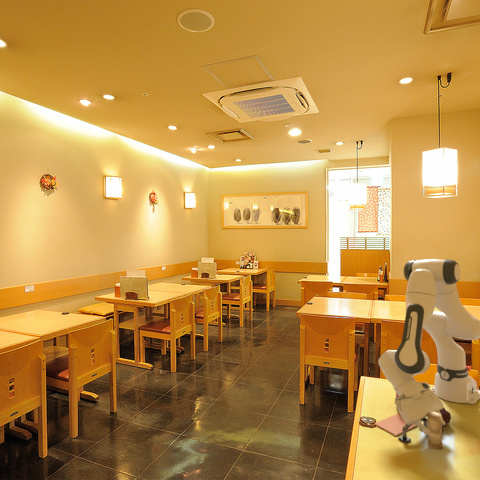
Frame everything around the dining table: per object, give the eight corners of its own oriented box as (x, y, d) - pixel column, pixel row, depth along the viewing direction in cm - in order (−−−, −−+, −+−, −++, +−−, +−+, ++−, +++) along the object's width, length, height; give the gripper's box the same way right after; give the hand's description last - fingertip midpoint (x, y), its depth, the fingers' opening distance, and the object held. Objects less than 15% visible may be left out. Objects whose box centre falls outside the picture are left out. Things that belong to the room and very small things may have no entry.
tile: (396, 415, 144) (396, 413, 144) (418, 425, 135) (418, 424, 135) (374, 424, 137) (374, 423, 137) (396, 436, 128) (396, 434, 128)
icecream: (431, 398, 145) (423, 416, 133) (450, 398, 140) (444, 417, 128) (436, 414, 144) (429, 434, 132) (456, 415, 139) (450, 435, 128)
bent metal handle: (424, 426, 134) (423, 408, 134) (431, 430, 132) (431, 411, 132) (398, 439, 126) (397, 420, 126) (405, 443, 124) (405, 423, 124)
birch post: (432, 439, 126) (431, 409, 126) (446, 446, 122) (445, 415, 122) (424, 443, 123) (423, 413, 123) (437, 450, 119) (437, 419, 119)
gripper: (397, 395, 123) (424, 435, 115) (430, 382, 134) (457, 418, 125) (387, 402, 127) (412, 441, 119) (420, 389, 137) (445, 424, 129)
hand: (435, 429), depth 122 cm, fingers open, 8 cm apart
